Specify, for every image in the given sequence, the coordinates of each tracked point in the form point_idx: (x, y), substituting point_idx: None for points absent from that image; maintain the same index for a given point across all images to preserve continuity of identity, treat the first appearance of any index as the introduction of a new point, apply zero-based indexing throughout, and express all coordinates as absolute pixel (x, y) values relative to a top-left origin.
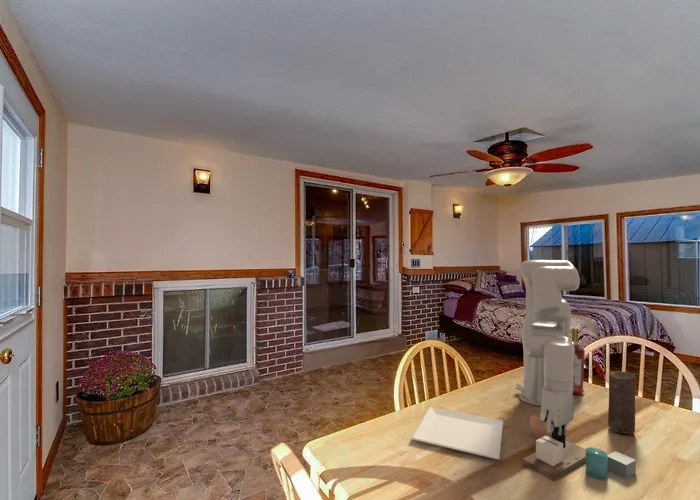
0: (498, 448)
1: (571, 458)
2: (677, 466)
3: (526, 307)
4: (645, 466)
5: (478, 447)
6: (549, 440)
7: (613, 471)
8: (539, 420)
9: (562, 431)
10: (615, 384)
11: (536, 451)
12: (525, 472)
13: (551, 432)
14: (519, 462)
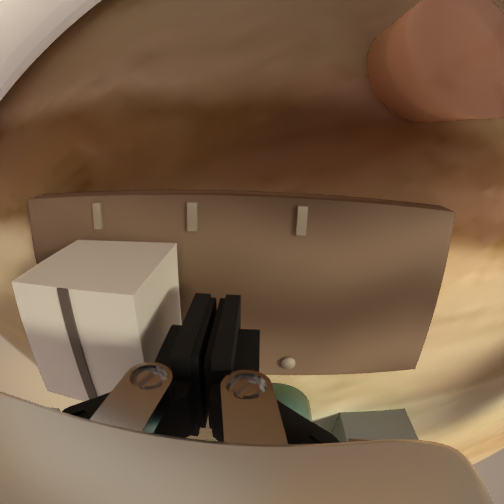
0: (9, 76)
1: (261, 349)
2: (482, 448)
3: None
4: (445, 436)
5: (8, 17)
6: (94, 347)
7: (333, 434)
8: (459, 62)
9: (222, 440)
10: None
11: (58, 254)
12: (16, 241)
13: (172, 348)
14: (42, 177)
